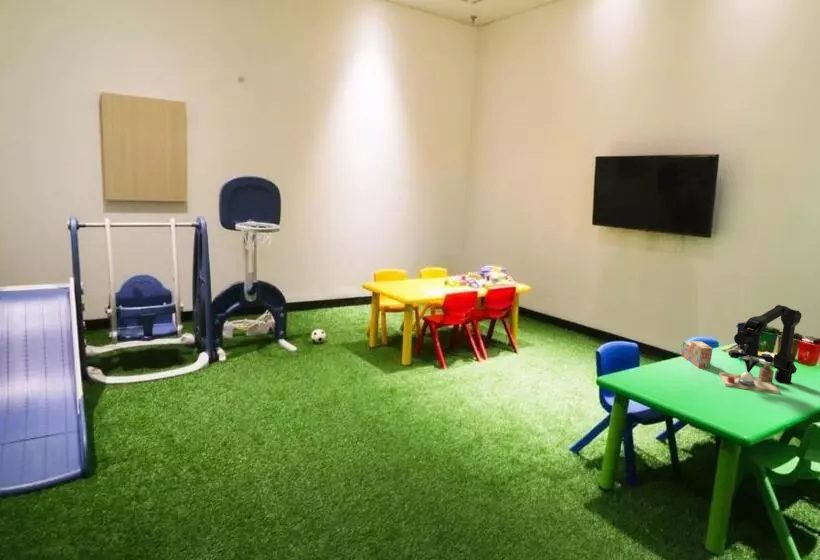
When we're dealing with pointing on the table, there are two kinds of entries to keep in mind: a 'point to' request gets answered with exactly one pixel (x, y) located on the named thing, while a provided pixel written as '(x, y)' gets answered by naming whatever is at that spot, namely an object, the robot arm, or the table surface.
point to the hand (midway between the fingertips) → (748, 372)
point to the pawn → (766, 373)
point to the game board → (759, 385)
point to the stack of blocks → (697, 353)
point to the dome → (747, 378)
